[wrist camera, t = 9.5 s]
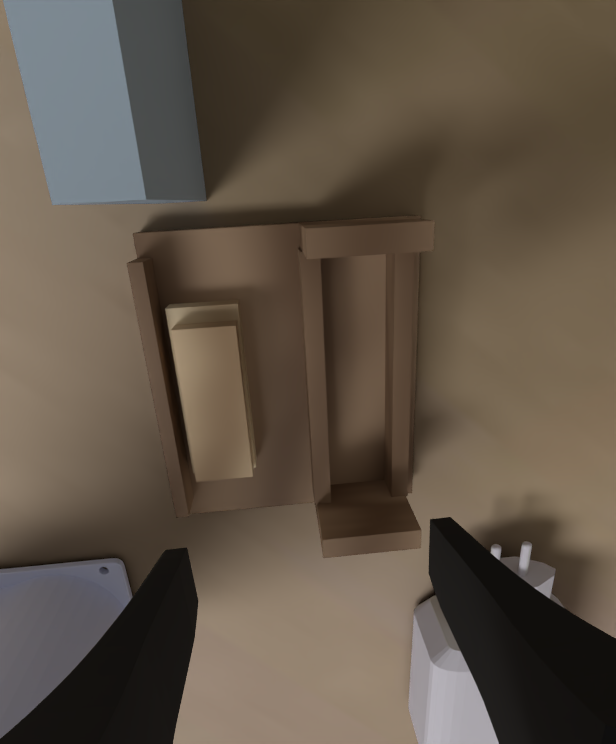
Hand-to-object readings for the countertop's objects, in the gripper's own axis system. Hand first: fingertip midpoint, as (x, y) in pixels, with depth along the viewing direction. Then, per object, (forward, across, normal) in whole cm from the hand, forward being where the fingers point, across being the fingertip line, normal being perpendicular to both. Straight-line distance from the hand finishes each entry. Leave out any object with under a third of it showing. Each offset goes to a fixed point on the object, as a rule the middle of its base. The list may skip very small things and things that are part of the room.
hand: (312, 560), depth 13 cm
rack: (+10, 0, -2) cm, 10 cm away
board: (+10, +4, -14) cm, 18 cm away
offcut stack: (+9, +4, -2) cm, 10 cm away
